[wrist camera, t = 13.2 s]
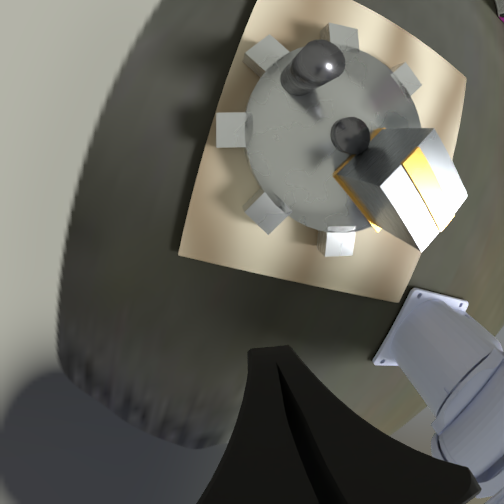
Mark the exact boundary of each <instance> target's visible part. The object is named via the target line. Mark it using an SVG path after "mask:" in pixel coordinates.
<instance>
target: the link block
mask: <svg viewBox="0 0 504 504" xmlns="http://www.w3.org/2000/svg"><path fill="white" fill-rule="evenodd" d="M336 175H337V176H338V177H339V178H340V179H341V181H342V182H343V183H344V184H345V186H346V187H347V188H348V189H349V191H350V192H351V193H352V194H353V196H354V197H355V198H356V200H357V201H358V202H359V203H360V205H361V206H362V207H363V209H364V210H365V211H366V213H367V214H368V215H369V217H370V218H371V219H372V221H373V222H374V224H375V225H376V226H378V227H380V228H381V229H383V230H385V231H387V232H388V233H390V234H392V235H394V236H395V237H397V238H399V239H401V240H402V241H404V242H406V243H407V244H409V245H411V246H412V247H414V248H416V249H417V250H419V251H421V252H422V251H423V250H424V249H425V248H426V247H427V246H428V244H429V243H430V242H431V241H432V240H433V239H434V238H435V236H436V235H437V234H438V233H439V232H441V231H442V230H443V229H444V228H445V227H446V225H447V224H448V223H449V222H450V221H451V219H452V218H453V217H454V216H455V214H454V213H455V212H456V211H457V210H458V208H459V207H460V206H461V204H462V203H463V202H464V200H465V199H466V198H467V196H468V195H467V193H466V191H465V188H464V186H463V184H462V181H461V179H460V177H459V175H458V173H457V170H456V168H455V166H454V164H453V162H452V160H451V158H450V156H449V154H448V152H447V150H446V148H445V146H444V145H443V143H442V141H441V139H440V137H439V135H438V134H437V132H436V130H435V128H396V129H382V130H381V131H380V132H379V133H378V134H377V135H376V136H375V137H374V138H373V139H372V140H371V141H370V143H369V145H368V147H367V149H366V150H365V151H364V152H362V153H360V154H356V155H355V156H354V157H353V158H352V159H351V160H350V161H349V162H348V163H347V164H346V165H345V166H344V167H343V168H342V169H341V170H340V171H339V172H338V173H337V174H336Z"/></svg>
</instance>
